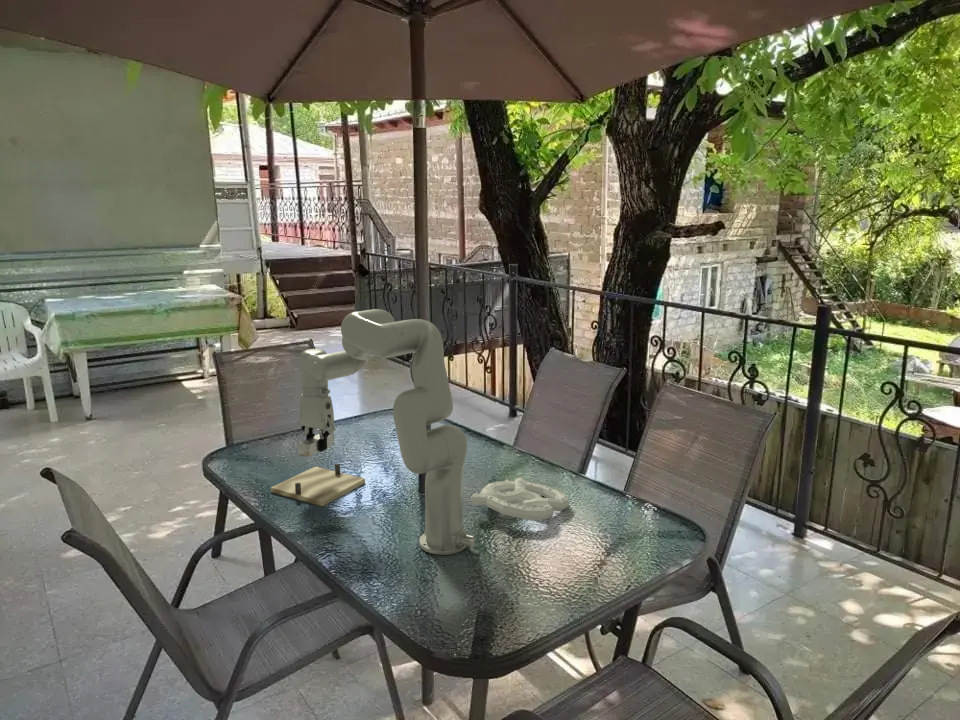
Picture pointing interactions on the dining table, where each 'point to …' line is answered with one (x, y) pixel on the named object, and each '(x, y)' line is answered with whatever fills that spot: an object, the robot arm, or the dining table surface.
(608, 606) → the dining table surface
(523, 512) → the pretzel
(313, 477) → the board
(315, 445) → the grey capsule bar
